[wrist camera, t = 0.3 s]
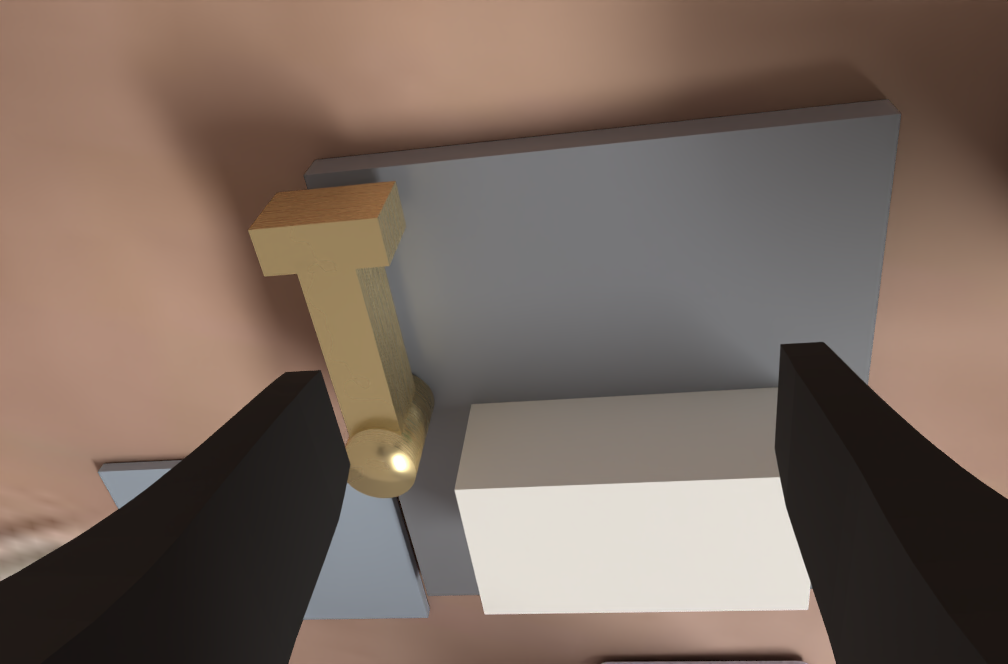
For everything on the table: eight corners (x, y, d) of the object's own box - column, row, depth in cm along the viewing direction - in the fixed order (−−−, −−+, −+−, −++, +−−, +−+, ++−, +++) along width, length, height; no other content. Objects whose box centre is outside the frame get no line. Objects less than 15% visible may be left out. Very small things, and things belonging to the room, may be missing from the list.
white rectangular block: (783, 514, 25) (807, 609, 22) (496, 523, 27) (484, 614, 24) (791, 386, 23) (820, 475, 20) (471, 404, 24) (454, 489, 21)
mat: (429, 608, 31) (428, 617, 31) (185, 612, 33) (181, 621, 32) (382, 450, 27) (380, 458, 26) (103, 463, 28) (97, 471, 28)
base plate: (835, 563, 28) (842, 588, 27) (432, 573, 30) (428, 595, 29) (887, 98, 19) (900, 113, 18) (314, 159, 21) (303, 175, 20)
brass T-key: (456, 422, 24) (440, 496, 22) (359, 427, 25) (332, 500, 22) (400, 172, 20) (372, 228, 17) (283, 184, 20) (240, 240, 18)
